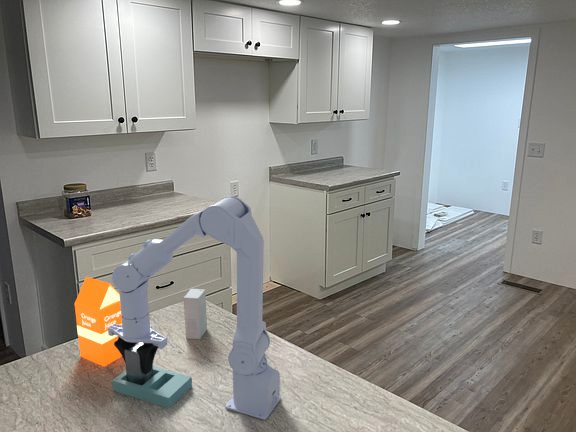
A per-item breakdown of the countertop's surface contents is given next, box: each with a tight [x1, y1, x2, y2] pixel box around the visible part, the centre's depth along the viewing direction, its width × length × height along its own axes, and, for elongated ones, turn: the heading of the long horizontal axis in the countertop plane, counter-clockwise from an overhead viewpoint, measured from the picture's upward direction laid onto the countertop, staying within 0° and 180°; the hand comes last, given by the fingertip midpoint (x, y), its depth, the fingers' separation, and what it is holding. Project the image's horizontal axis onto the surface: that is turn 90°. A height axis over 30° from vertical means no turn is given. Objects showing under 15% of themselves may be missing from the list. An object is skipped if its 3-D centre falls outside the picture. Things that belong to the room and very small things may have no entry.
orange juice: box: [74, 276, 123, 367], centre depth 115 cm, size 8×9×20 cm
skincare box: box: [183, 288, 208, 340], centre depth 126 cm, size 6×4×12 cm
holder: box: [111, 365, 193, 409], centre depth 104 cm, size 15×8×2 cm, turn 67°
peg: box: [124, 343, 154, 386], centre depth 104 cm, size 4×4×8 cm
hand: (139, 369), depth 104 cm, fingers closed on peg, 4 cm apart
